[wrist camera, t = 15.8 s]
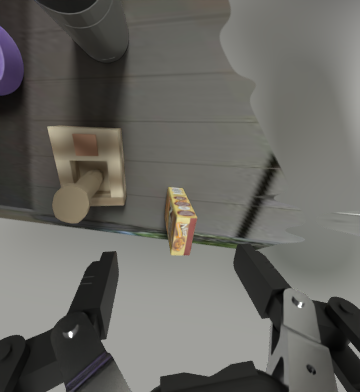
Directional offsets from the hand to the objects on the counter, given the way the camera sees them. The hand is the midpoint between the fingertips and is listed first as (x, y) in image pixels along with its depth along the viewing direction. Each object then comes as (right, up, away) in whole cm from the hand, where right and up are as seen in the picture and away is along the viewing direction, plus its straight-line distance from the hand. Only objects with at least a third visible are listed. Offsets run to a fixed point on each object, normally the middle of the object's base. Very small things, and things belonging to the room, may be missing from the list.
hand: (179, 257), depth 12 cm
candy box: (-2, +2, +36) cm, 36 cm away
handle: (-19, +9, +29) cm, 35 cm away
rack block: (-19, +11, +28) cm, 36 cm away
